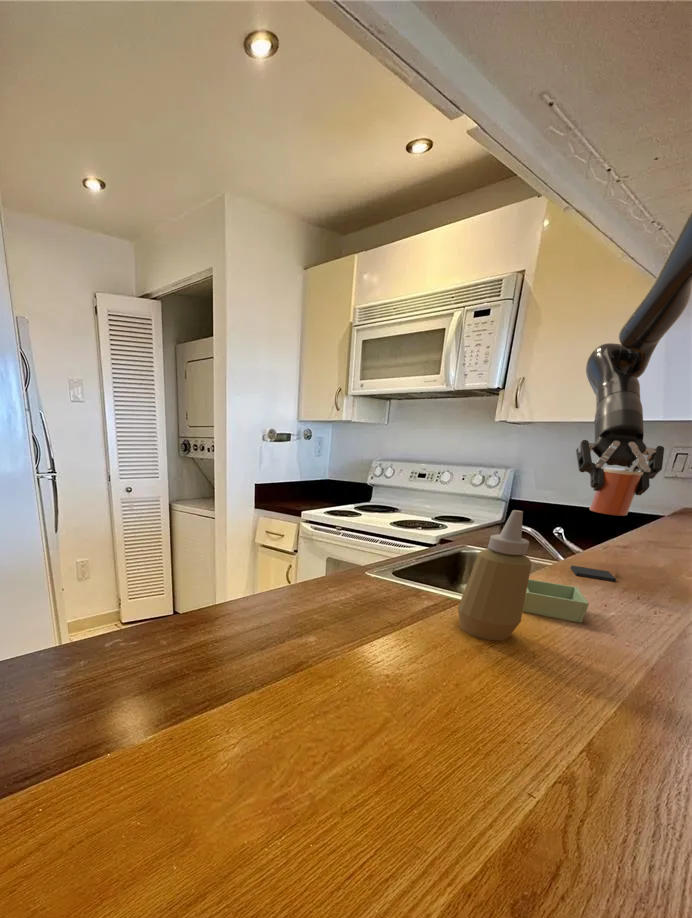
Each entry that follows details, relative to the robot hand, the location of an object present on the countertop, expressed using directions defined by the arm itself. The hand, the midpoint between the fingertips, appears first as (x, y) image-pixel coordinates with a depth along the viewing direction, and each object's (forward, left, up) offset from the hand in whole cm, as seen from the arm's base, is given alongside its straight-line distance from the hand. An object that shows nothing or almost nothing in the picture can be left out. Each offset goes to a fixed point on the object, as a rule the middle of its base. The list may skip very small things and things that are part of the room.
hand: (619, 490), depth 88 cm
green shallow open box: (+11, +24, -18) cm, 32 cm away
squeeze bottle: (+21, +40, -19) cm, 49 cm away
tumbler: (0, -2, -4) cm, 5 cm away
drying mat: (-2, -8, -18) cm, 20 cm away
